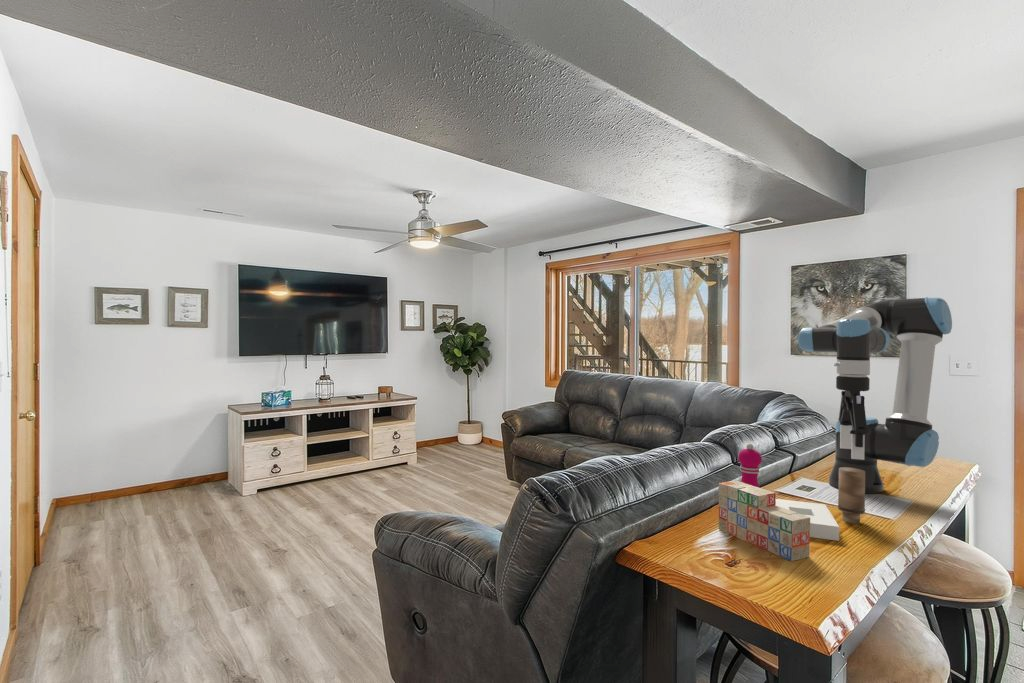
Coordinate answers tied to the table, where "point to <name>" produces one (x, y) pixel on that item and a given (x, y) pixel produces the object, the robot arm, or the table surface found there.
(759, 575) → the table surface
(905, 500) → the table surface
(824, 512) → the cream board
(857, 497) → the walnut peg
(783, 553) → the stack of blocks
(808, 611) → the table surface
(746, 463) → the pepper mill
